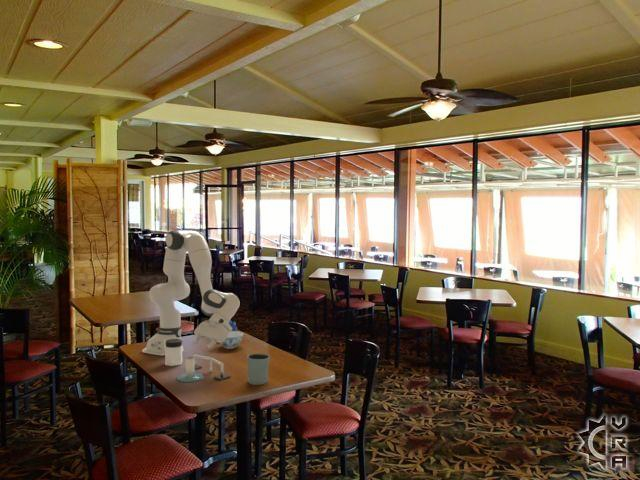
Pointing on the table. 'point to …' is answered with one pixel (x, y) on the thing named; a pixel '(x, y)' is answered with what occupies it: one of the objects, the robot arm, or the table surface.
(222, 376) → the bent bar stand
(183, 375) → the saucer
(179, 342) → the jar
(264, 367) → the grey-green open cylinder
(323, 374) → the table surface
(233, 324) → the grapes
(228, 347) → the chinaware
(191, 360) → the salt shaker
